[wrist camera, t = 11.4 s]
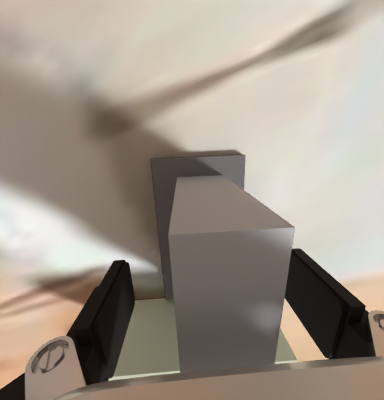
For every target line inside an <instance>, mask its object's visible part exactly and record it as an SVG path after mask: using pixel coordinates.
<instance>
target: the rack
mask: <svg viewBox="0 0 384 400" xmlns="http://www.w3.org/2000/svg"><path fill="white" fill-rule="evenodd" d="M292 362H297V359H296V357H295V355H294V353H293V351H292V349H291V347H290V346H289V344H288V342H287V340H286V338H285V336H284V334H283V333H282V331H281V329H280V330H279V337H278V344H277V350H276V357H275V364H280V363H292ZM173 373H180V365H179V354H178V342H177V330H176V319H175V307H174V299H170V300H165V298H159V299H145V300H135V305H134V309H133V312H132V316H131V319H130V322H129V326H128V329H127V332H126V336H125V339H124V343H123V346H122V349H121V353H120V356H119V359H118V363H117V366H116V370H115V373H114V376H113V377H112V378H109V381H112V380H119V379H128V378H136V377H144V376H153V375H163V374H173Z"/></svg>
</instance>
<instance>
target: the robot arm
mask: <svg viewBox="0 0 384 400" xmlns="http://www.w3.org/2000/svg"><path fill="white" fill-rule="evenodd" d="M285 299H286V300H287V302H288V303H289V305H290V306H291V308H292V309H293V311H294V312H295V314H296V315H297V316H298V318H299V319H300V321H301V322H302V324H303V325H304V327H305V328H306V330H307V331H308V333H309V334H310V336H311V337H312V339H313V340H314V342H315V343H316V345H317V346H318V348H319V349H320V351H321V352H322V354H323V355H324V356H325V357H326V358H329V359H327V360H315V361H303V362H292V363H280V364H269V365H258V366H247V367H236V368H225V369H214V370H204V371H193V372H183V373H173V374H163V375H153V376H144V377H136V378H128V379H119V380H112V381H109V378H112V377H113V376H114V373H115V370H116V366H117V363H118V359H119V356H120V353H121V349H122V346H123V343H124V339H125V336H126V332H127V329H128V326H129V322H130V319H131V316H132V312H133V309H134V305H135V296H134V290H133V284H132V279H131V273H130V267H129V263H128V262H126V261H125V260H117V261H114V262H113V263H112V265H111V267H110V268H109V270H108V272H107V273H106V275H105V277H104V279H103V280H102V282H101V284H100V285H99V286H97V287H96V288H95V289H94V291H93V292H92V294H91V295H90V297H89V299H88V300H87V302H86V304H85V305H84V307H83V309H82V310H81V312H80V313H79V315H78V317H77V318H76V320H75V322H74V323H73V325H72V327H71V328H70V330H69V332H68V333H67V335H66V336H60V337H56V338H54V339H52V340H50V341H48V342H47V343H45V344H44V345H42V346H41V347H40V348H39V349H38V350H37V351H36V352H35V353H34V354H33V355H32V357H31V358H30V359H29V361H28V363H27V365H26V369H25V373H23V374H22V375H20V376H19V377H18V378H16V379H15V380H13V381H12V382H10V383H9V384H8V385H6V386H5V387H3V388H2V389H0V400H384V312H383V311H376V310H375V311H371V312H370V313H369V312H368V311H366V310H365V307H366V306H365V305H364V304H363V303H362V302H361V301H359V300H358V299H357V298H356V297H355V296H354V295H353V294H351V293H350V292H349V291H348V290H347V289H346V288H345V287H343V286H342V285H341V284H340V283H339V282H338V281H337V280H335V279H334V278H333V277H332V276H331V275H330V274H329V273H327V272H326V271H325V270H324V269H323V268H322V267H321V266H319V265H318V264H317V263H316V262H315V261H314V260H313V259H312V258H310V257H309V256H308V255H307V254H306V253H305V252H304V251H302V250H301V249H292V250H291V257H290V264H289V270H288V277H287V284H286V290H285Z"/></svg>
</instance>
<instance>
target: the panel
mask: <svg viewBox="0 0 384 400" xmlns="http://www.w3.org/2000/svg"><path fill="white" fill-rule="evenodd" d="M151 169H152V178H153V187H154V197H155V206H156V215H157V225H158V234H159V244H160V253H161V262H162V272H163V281H164V290H165V300H170V299H174V296H173V284H172V273H171V261H170V249H169V238H168V233H169V227H170V220H171V214H172V207H173V201H174V195H175V188H176V182H177V177H192V176H214V175H224V176H225V177H226V178H228V179H229V180H231V181H232V182H233V183H235V184H236V185H237V186H239V187H240V188H242V189H243V190H244V174H245V155H224V156H201V157H178V158H156V159H151Z"/></svg>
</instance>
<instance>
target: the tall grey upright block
mask: <svg viewBox="0 0 384 400" xmlns="http://www.w3.org/2000/svg"><path fill="white" fill-rule="evenodd" d="M294 230H295V227H294V226H292V225H291V224H289V223H288V222H287V221H285V220H284V219H283V218H281V217H280V216H279V215H277V214H276V213H274V212H273V211H272V210H270V209H269V208H268V207H266V206H265V205H263V204H262V203H261V202H259V201H258V200H257V199H255V198H254V197H252V196H251V195H250V194H248V193H247V192H246V191H244V190H243V189H242V188H240V187H239V186H237V185H236V184H235V183H233V182H232V181H231V180H229V179H228V178H226V177H225V176H224V175H214V176H192V177H177V182H176V188H175V195H174V201H173V207H172V214H171V220H170V227H169V233H168V238H169V249H170V261H171V273H172V284H173V296H174V307H175V319H176V330H177V342H178V354H179V365H180V373H183V372H193V371H204V370H214V369H225V368H236V367H247V366H258V365H269V364H275V357H276V350H277V344H278V337H279V330H280V324H281V317H282V310H283V304H284V297H285V290H286V284H287V277H288V270H289V264H290V257H291V250H292V244H293V237H294Z"/></svg>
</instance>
